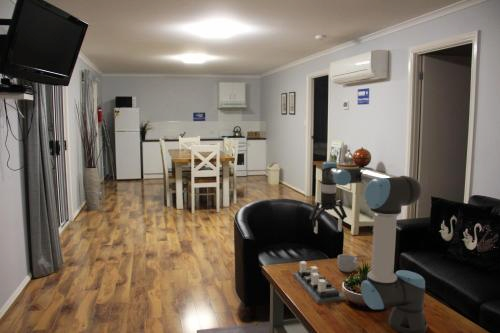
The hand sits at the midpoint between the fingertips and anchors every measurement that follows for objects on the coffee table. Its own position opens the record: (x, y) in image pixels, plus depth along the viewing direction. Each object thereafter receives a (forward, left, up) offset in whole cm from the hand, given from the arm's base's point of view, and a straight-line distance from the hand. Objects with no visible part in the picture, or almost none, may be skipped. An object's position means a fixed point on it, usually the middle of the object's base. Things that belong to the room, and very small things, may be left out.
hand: (327, 231), depth 209 cm
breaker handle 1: (+8, +10, -24) cm, 27 cm away
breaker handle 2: (0, +7, -24) cm, 25 cm away
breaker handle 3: (-8, +10, -24) cm, 27 cm away
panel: (-4, +7, -28) cm, 29 cm away
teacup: (+11, -19, -28) cm, 36 cm away
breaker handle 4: (-16, +10, -24) cm, 30 cm away
